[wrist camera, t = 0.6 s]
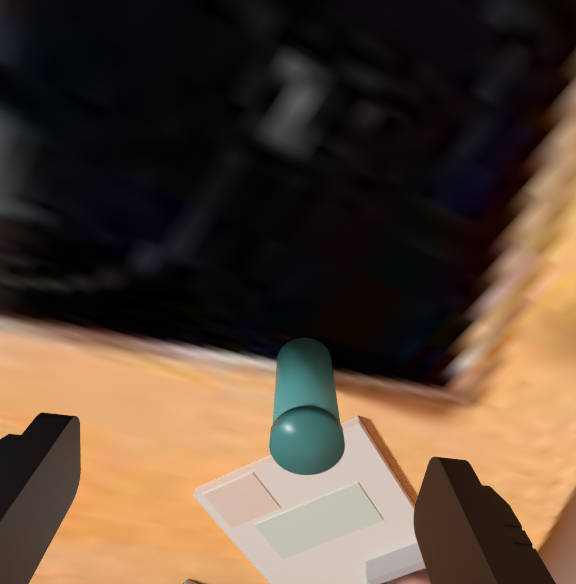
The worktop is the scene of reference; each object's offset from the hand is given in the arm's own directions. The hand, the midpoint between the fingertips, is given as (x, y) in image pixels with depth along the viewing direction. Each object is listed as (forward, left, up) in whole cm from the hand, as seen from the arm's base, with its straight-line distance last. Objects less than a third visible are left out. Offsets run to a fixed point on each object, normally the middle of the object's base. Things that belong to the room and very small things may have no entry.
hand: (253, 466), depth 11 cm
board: (+9, +23, -19) cm, 31 cm away
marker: (+3, +8, -19) cm, 20 cm away
